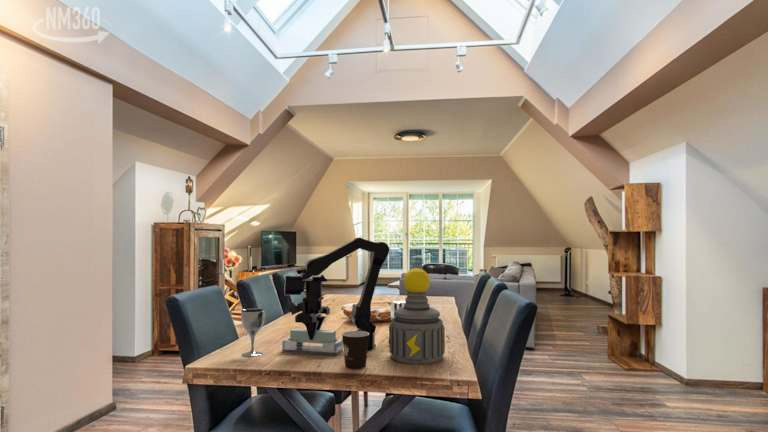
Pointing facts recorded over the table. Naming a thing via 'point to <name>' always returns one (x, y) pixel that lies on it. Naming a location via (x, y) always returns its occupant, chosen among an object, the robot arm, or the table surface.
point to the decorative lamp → (416, 325)
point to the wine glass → (252, 326)
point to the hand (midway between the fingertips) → (313, 338)
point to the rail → (319, 336)
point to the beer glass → (396, 306)
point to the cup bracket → (312, 347)
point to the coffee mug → (355, 349)
